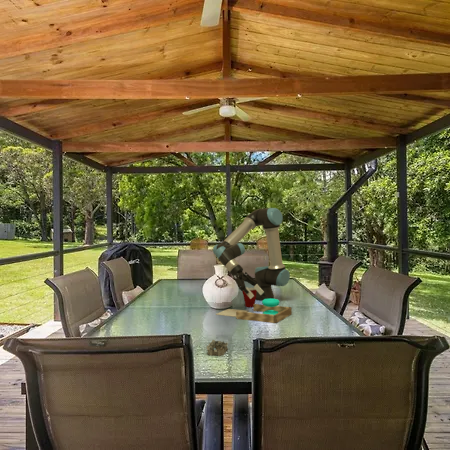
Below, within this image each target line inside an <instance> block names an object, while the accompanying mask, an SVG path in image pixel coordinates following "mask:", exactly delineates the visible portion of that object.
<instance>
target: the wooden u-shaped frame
mask: <svg viewBox="0 0 450 450" xmlns="http://www.w3.org/2000/svg"><path fill="white" fill-rule="evenodd" d="M252 308H253V312H241V311H237V312H236V317H235V318H236V319H237V320H244V321H253V322H262V323H269V324H277V323H279V322H281V321H282V320H284V319H286V318H287V317H290V316H291V315H292V313H293V310H292V307H291V306H279V305H278V306H275V307H267V306H264V305H263V304H260V303H259V304H257V303H255V304H253V307H252ZM266 310H276V311H278V312H279V313H277V314H275V315H270V314H262V313H263V312H264V311H266ZM261 312H262V313H261Z"/></svg>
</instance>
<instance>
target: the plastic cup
mask: <svg viewBox="0 0 450 450" xmlns="http://www.w3.org/2000/svg"><path fill="white" fill-rule="evenodd" d="M247 288H248V289H249V290H250V291H251V293H252V294H253V295H254V296H253V298H252V299H250V298H249V297H248V295H247V294H246V293H245V292H244V291H241V292H242V295H243V300H244V306H245V308H253V304H256V301H257V300H256V293H257V290H256V289H255V288H254V287H247Z"/></svg>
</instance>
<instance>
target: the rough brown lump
mask: <svg viewBox="0 0 450 450" xmlns="http://www.w3.org/2000/svg"><path fill="white" fill-rule="evenodd" d="M228 346H229V343H228V342H227V341H226V342H224V341H221V340H214V339H212V340H211V342H209V344H208V345H207V346H206V349H207V355H209V356H218V357H221V356H224V355H225V353H226V351H227V350H228Z"/></svg>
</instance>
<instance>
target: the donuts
mask: <svg viewBox="0 0 450 450" xmlns="http://www.w3.org/2000/svg"><path fill="white" fill-rule="evenodd" d="M261 305H264V306H267V307H275V306H279V305H280V300H279V299H278V298H274V299H271V298H270V299H264V300H261ZM277 313H279V312H278V311H276V310H266V311H264V312H262V313H261V314H270V315H275V314H277Z"/></svg>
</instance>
